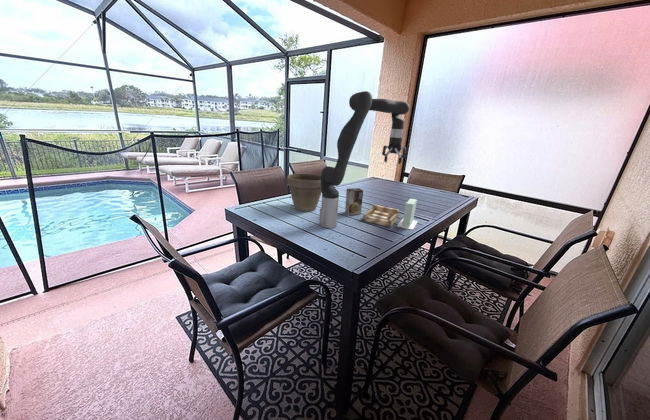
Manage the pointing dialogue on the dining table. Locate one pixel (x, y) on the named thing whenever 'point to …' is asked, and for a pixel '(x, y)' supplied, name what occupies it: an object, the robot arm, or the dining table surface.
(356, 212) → the coffee box
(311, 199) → the plant pot
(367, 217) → the rack
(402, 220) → the white flat rectangle
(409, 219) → the pale green upright slab
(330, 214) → the robot arm
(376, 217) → the front offcut
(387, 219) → the back offcut
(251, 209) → the dining table surface
